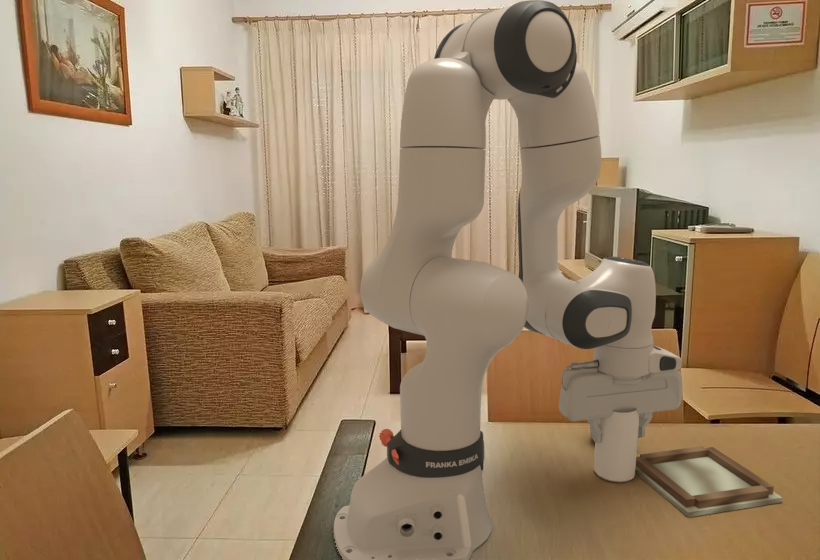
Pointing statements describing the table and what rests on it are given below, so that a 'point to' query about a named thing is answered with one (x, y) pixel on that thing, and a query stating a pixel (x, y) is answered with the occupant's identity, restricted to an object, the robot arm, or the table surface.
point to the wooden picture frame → (703, 481)
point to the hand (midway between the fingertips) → (618, 438)
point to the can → (617, 446)
